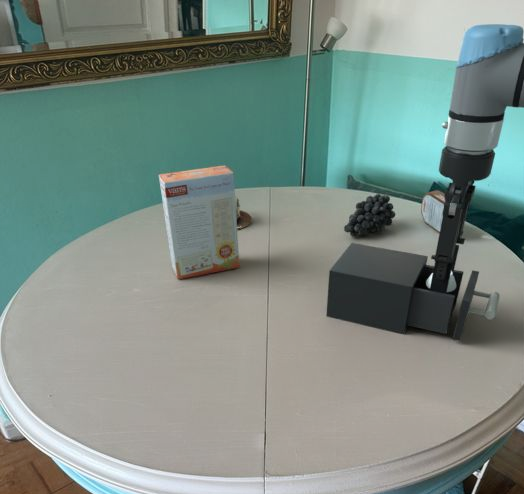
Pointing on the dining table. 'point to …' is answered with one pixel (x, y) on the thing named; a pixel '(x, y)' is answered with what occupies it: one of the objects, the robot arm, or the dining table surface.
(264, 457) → the dining table surface
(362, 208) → the fruit
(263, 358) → the dining table surface
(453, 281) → the white jar
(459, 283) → the grey drawer
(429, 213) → the tin
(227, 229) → the cracker box
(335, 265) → the drawer cabinet casing
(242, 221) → the skull
